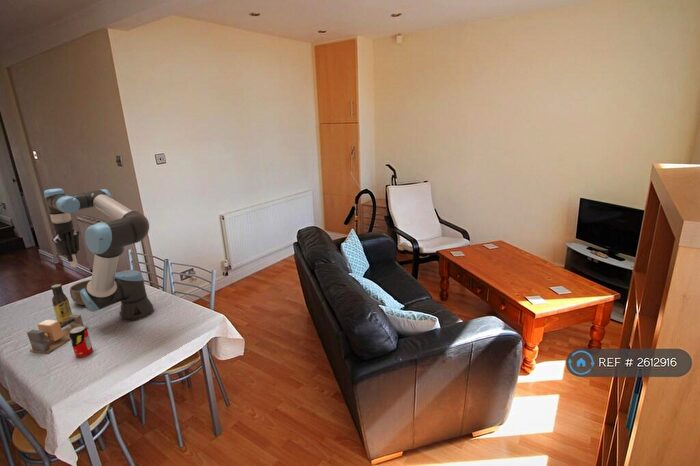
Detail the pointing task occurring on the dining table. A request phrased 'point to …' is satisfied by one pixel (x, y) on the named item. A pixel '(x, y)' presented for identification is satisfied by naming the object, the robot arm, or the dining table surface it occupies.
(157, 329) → the dining table surface
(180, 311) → the dining table surface
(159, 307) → the dining table surface
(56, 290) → the sauce bottle
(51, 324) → the sleeve
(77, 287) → the bowl
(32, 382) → the dining table surface
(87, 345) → the beverage can
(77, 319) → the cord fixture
